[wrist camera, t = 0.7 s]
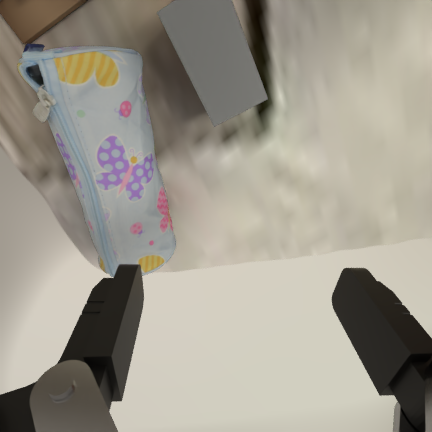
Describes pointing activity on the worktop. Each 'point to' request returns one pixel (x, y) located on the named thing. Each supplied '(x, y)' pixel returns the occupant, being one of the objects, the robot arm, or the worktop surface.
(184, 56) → the din module
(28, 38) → the rail board
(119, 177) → the pencil case
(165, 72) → the worktop surface
